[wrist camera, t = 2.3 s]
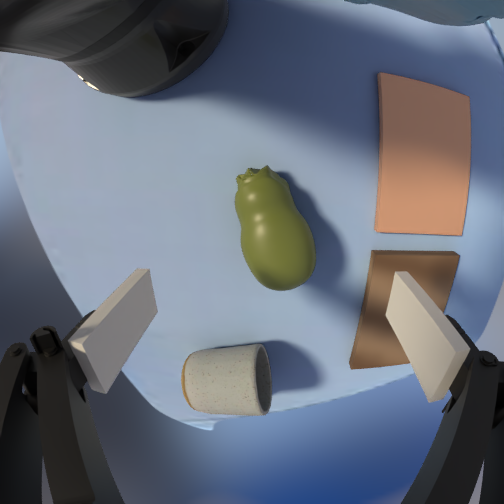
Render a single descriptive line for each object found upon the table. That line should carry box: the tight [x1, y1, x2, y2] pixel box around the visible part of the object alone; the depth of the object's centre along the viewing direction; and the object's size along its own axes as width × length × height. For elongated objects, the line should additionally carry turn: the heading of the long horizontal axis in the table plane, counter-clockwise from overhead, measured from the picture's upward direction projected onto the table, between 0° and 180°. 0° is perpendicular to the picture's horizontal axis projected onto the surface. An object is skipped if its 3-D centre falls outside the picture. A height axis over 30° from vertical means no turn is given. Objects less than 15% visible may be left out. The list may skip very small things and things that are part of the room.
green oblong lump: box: [235, 165, 316, 291], centre depth 22 cm, size 6×5×10 cm
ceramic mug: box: [181, 344, 272, 416], centre depth 27 cm, size 11×8×8 cm
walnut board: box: [349, 250, 460, 369], centre depth 25 cm, size 14×10×1 cm
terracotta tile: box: [374, 72, 471, 236], centre depth 20 cm, size 14×10×1 cm
